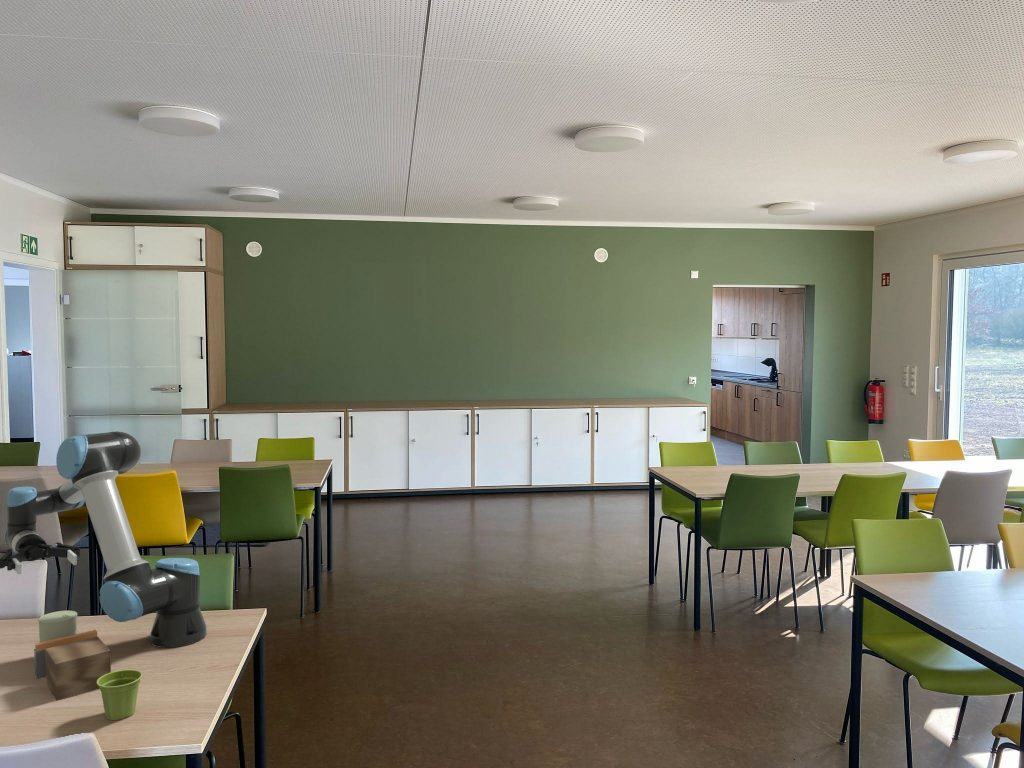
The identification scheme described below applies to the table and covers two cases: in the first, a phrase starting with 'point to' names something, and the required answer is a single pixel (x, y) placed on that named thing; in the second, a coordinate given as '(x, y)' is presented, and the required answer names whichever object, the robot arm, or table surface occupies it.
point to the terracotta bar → (65, 640)
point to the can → (57, 625)
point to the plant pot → (119, 693)
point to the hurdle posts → (40, 663)
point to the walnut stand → (76, 667)
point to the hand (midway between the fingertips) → (48, 564)
